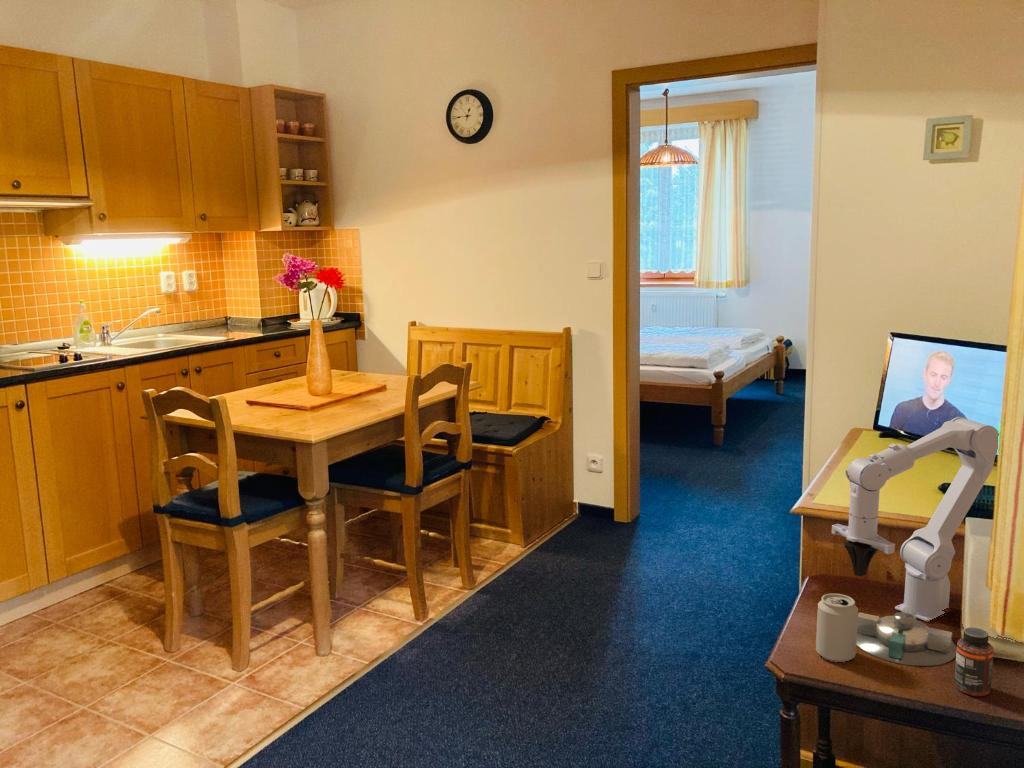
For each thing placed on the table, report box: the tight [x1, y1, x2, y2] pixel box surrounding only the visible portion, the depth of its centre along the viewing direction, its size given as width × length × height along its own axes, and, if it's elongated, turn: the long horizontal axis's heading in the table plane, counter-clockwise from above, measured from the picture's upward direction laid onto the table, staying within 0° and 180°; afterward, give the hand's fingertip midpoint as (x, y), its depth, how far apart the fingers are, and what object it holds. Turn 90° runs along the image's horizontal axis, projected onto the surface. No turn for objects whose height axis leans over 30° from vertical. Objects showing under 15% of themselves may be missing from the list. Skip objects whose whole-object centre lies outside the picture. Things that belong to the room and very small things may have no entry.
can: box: [815, 593, 859, 663], centre depth 168 cm, size 8×8×12 cm
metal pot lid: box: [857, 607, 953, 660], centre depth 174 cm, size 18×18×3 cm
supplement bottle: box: [954, 626, 994, 697], centre depth 155 cm, size 6×6×11 cm
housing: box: [856, 611, 957, 667], centre depth 174 cm, size 20×20×6 cm
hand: (860, 574), depth 183 cm, fingers closed
